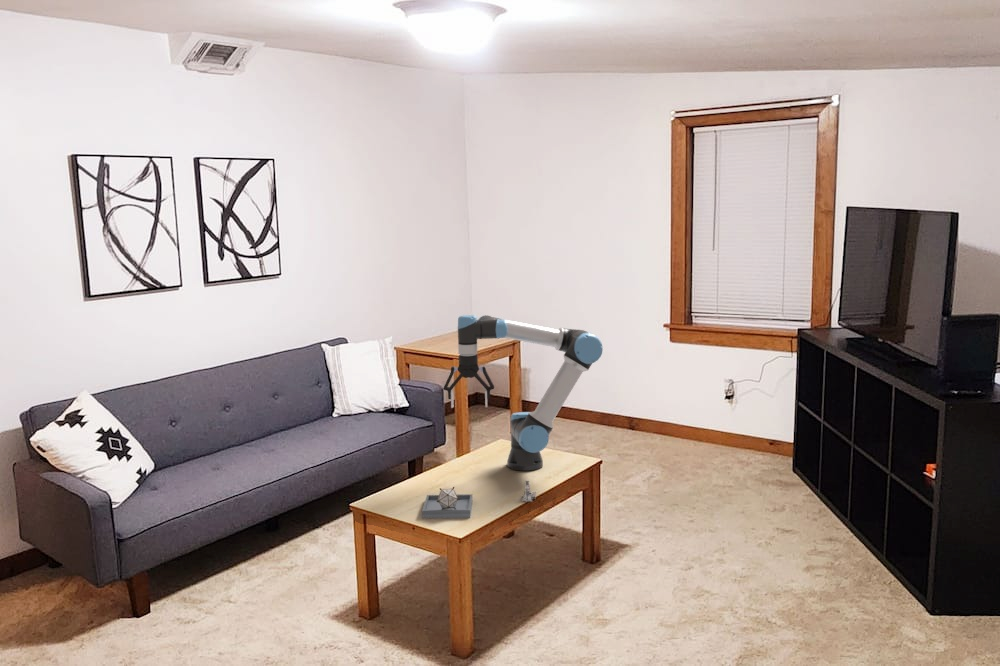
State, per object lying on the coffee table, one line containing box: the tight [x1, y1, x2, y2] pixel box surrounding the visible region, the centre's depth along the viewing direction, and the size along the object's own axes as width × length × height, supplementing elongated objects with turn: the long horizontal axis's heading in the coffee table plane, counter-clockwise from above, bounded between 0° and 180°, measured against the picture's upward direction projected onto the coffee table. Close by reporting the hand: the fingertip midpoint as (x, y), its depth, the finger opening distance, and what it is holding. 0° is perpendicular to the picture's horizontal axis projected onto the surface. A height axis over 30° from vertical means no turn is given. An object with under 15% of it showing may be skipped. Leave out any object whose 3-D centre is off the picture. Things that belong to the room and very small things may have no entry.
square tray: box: [421, 493, 474, 519], centre depth 305 cm, size 17×17×3 cm
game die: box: [436, 486, 460, 510], centre depth 300 cm, size 9×8×10 cm
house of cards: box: [521, 480, 537, 503], centre depth 313 cm, size 9×9×8 cm
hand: (469, 406), depth 331 cm, fingers open, 13 cm apart
